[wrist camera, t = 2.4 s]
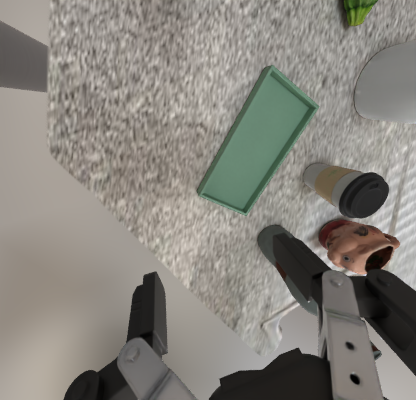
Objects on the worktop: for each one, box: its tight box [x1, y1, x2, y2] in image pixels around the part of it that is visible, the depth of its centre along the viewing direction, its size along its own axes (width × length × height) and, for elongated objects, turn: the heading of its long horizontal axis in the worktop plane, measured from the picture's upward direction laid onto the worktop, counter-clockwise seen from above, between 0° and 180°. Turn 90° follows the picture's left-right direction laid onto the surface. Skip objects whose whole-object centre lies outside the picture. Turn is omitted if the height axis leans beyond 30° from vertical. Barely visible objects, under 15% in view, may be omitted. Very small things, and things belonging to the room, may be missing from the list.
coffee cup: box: [303, 163, 389, 218], centre depth 42 cm, size 9×9×15 cm
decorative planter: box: [319, 219, 400, 274], centre depth 53 cm, size 20×12×14 cm, turn 105°
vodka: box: [258, 225, 382, 360], centre depth 41 cm, size 9×9×30 cm
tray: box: [197, 65, 319, 216], centre depth 41 cm, size 27×13×3 cm, turn 150°
